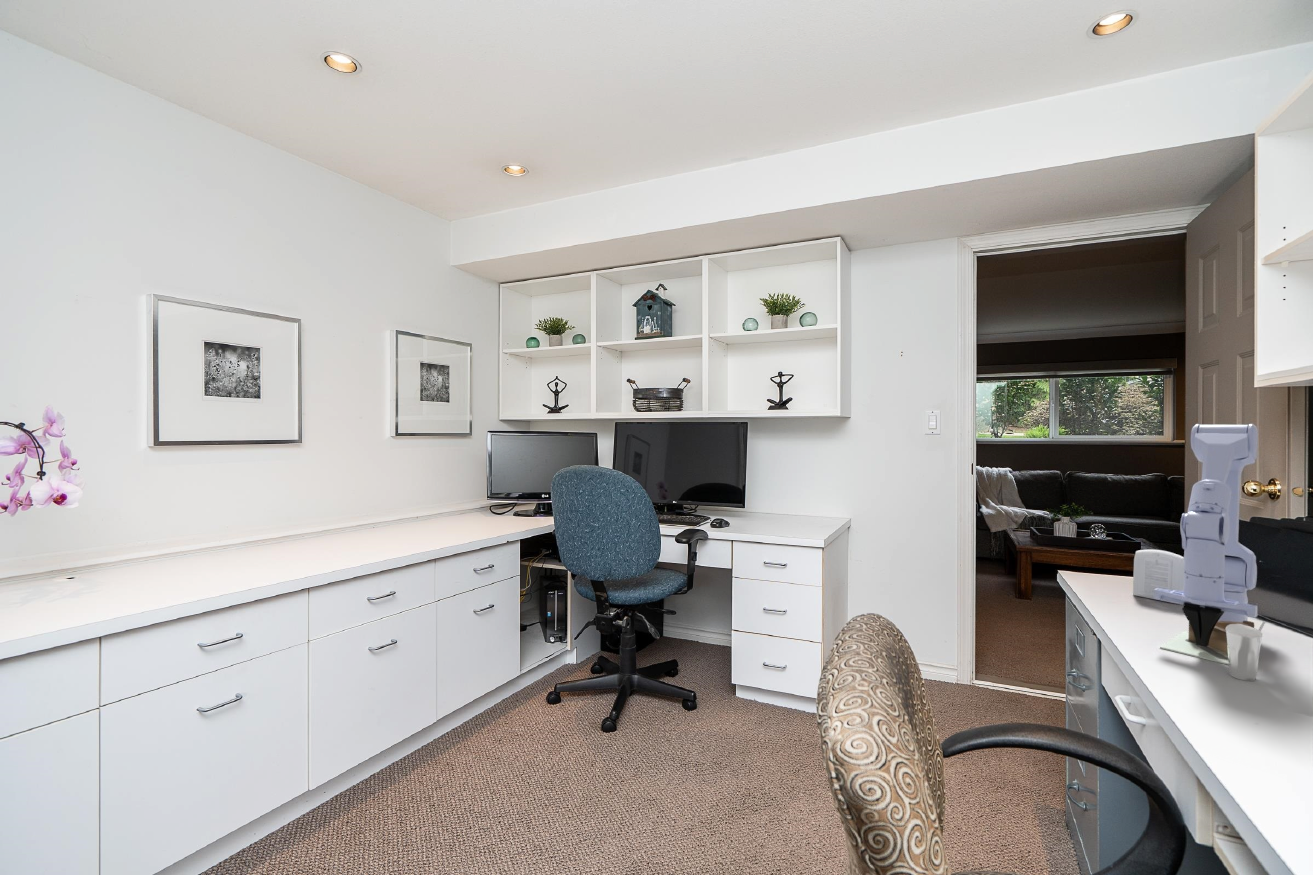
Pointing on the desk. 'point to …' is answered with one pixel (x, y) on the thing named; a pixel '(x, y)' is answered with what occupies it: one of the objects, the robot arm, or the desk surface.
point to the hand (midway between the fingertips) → (1202, 644)
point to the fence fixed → (1222, 625)
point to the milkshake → (1243, 650)
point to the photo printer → (1157, 572)
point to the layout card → (1194, 649)
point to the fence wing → (1218, 639)
